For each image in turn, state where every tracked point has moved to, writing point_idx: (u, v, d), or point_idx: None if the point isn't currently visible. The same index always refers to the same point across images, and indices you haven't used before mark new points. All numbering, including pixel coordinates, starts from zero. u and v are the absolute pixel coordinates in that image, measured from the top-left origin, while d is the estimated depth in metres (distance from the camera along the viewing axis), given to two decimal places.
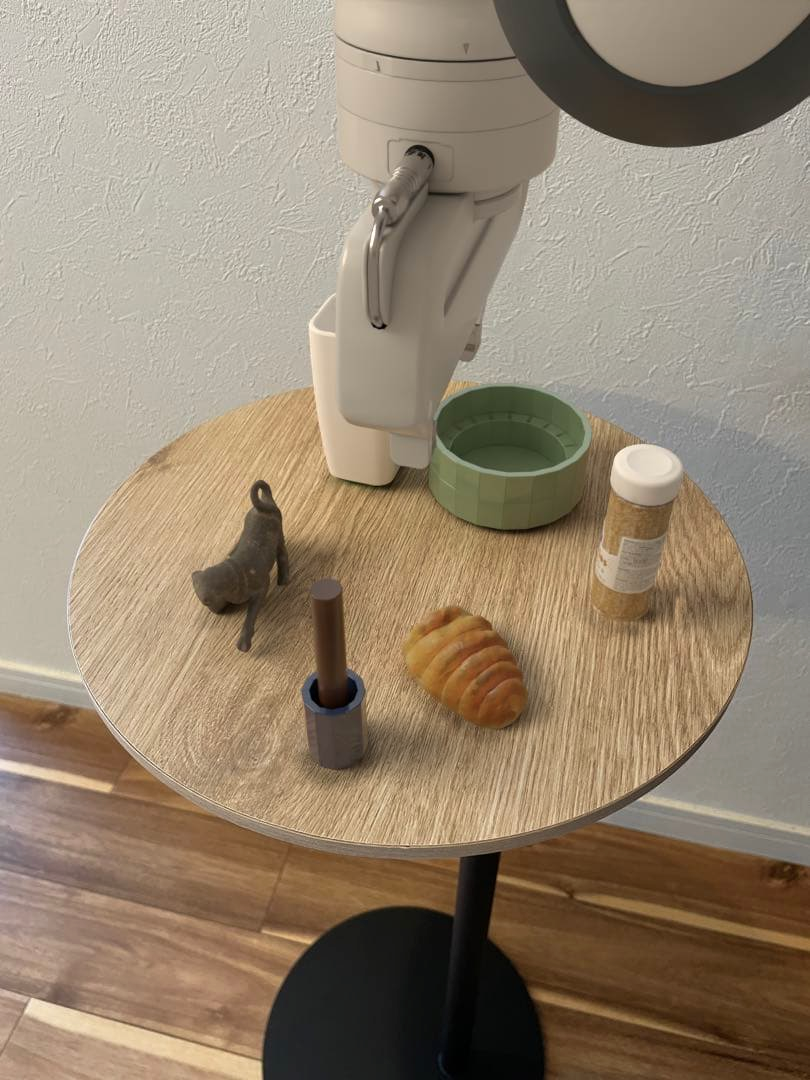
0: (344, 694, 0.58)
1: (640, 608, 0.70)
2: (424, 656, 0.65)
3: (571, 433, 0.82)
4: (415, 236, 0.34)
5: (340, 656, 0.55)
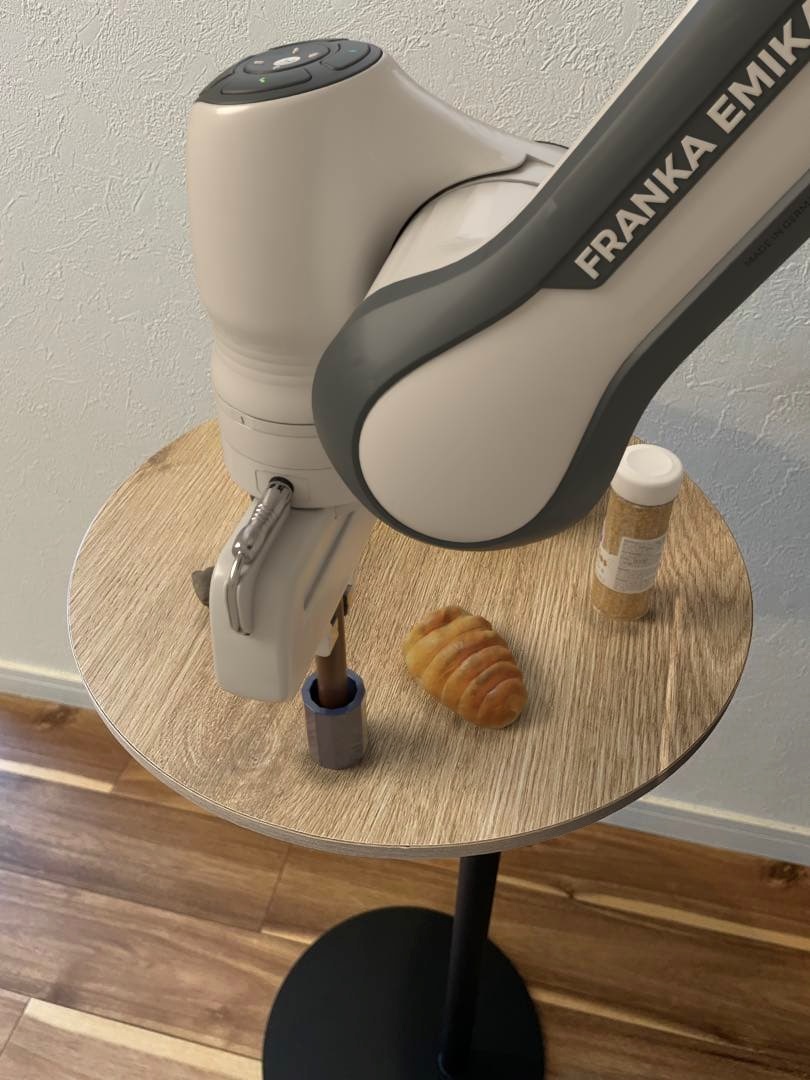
0: (344, 694, 0.58)
1: (640, 608, 0.70)
2: (424, 656, 0.65)
3: None
4: (272, 563, 0.41)
5: (339, 656, 0.55)
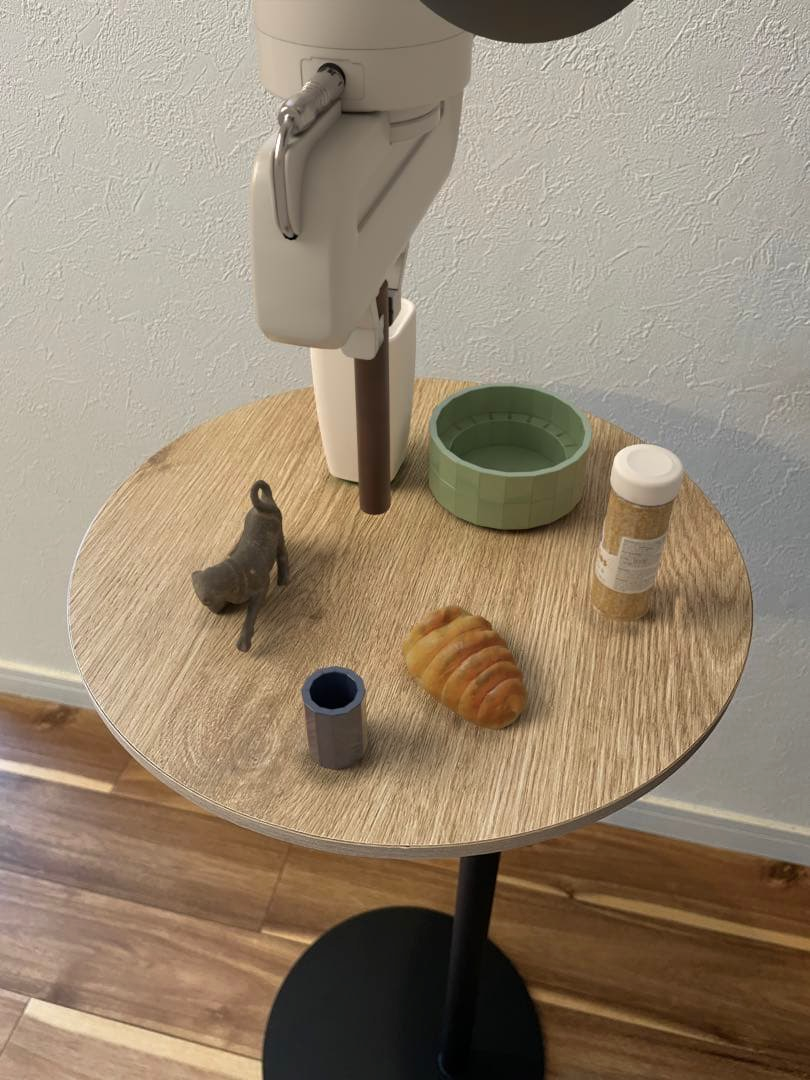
0: (385, 431, 0.52)
1: (640, 608, 0.70)
2: (424, 656, 0.65)
3: (571, 433, 0.82)
4: (324, 148, 0.35)
5: (383, 374, 0.49)
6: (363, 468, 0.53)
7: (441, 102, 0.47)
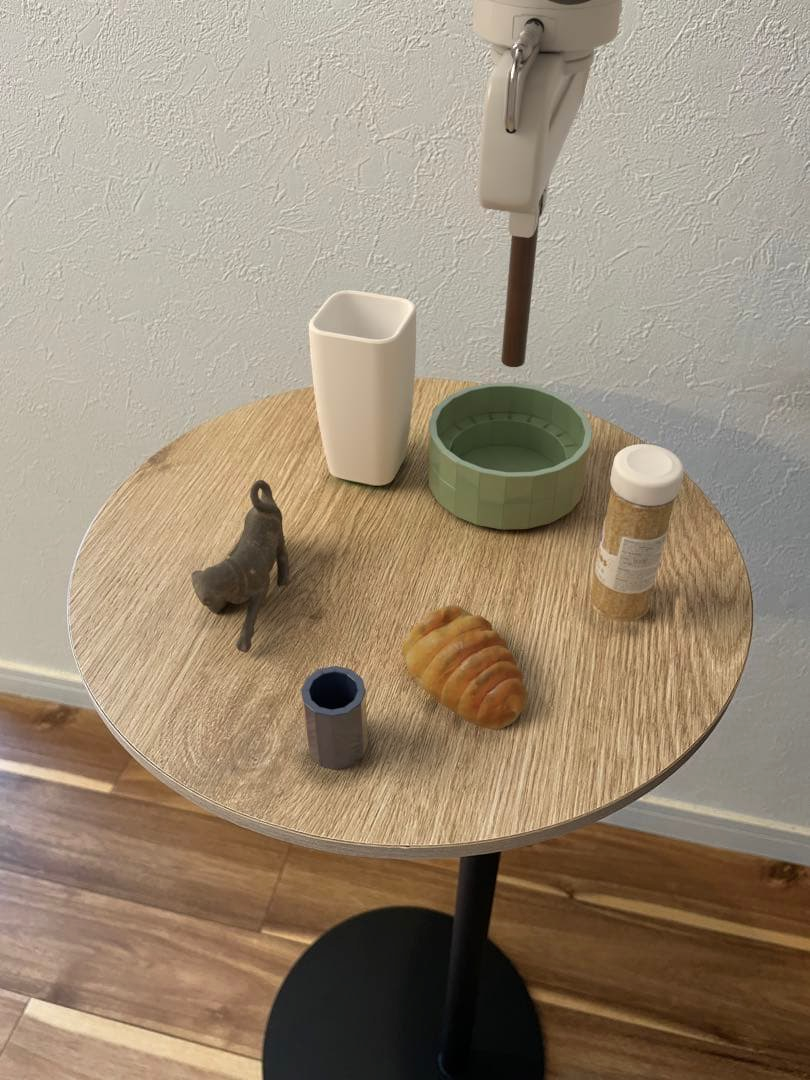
0: (529, 298, 0.70)
1: (640, 608, 0.70)
2: (424, 656, 0.65)
3: (571, 433, 0.82)
4: (535, 72, 0.54)
5: (532, 252, 0.68)
6: (509, 328, 0.72)
7: None
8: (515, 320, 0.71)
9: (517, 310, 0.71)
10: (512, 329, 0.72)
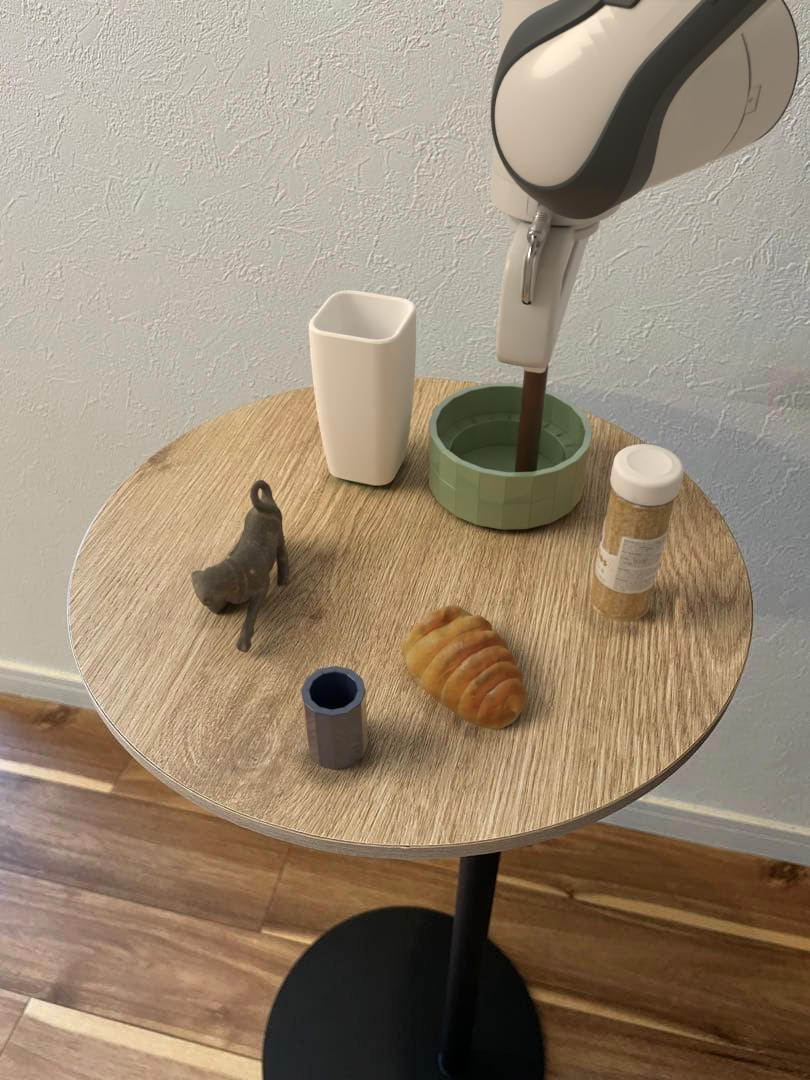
0: (540, 420, 0.77)
1: (640, 608, 0.70)
2: (423, 656, 0.65)
3: (571, 433, 0.82)
4: (548, 251, 0.60)
5: (544, 382, 0.74)
6: (522, 446, 0.78)
7: None
8: (527, 439, 0.78)
9: (529, 431, 0.77)
10: (525, 447, 0.78)
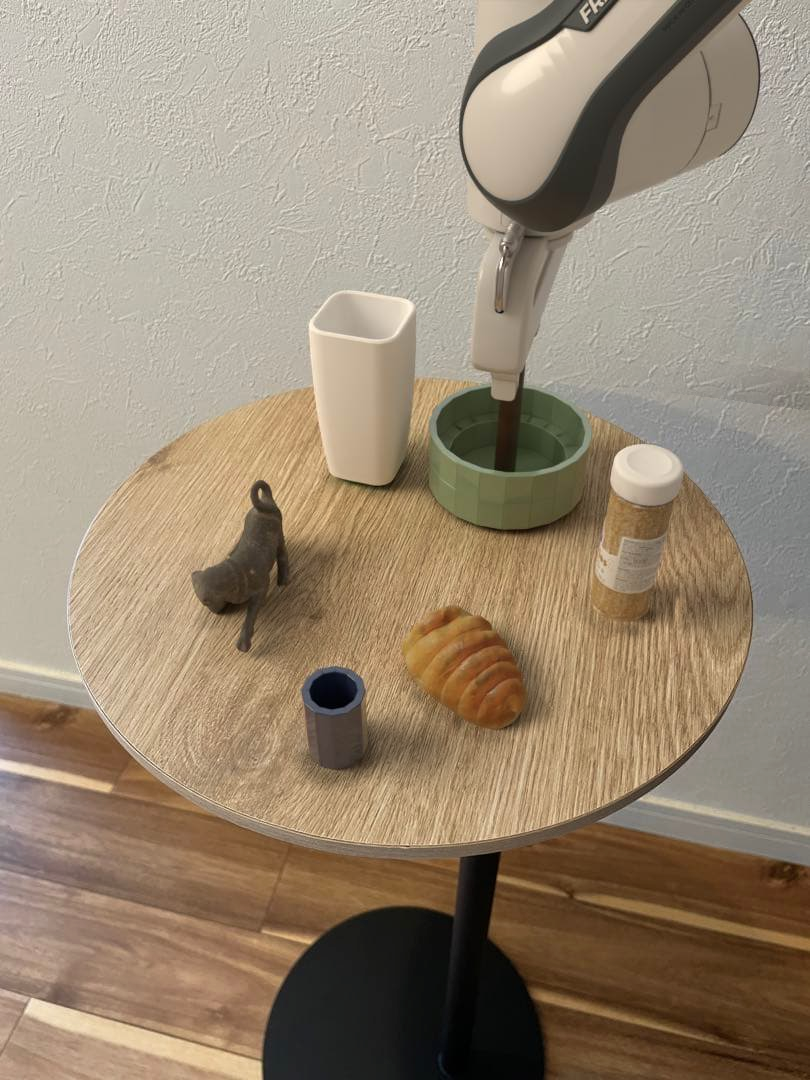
0: (517, 427, 0.78)
1: (640, 608, 0.70)
2: (423, 656, 0.65)
3: (571, 433, 0.82)
4: (520, 262, 0.61)
5: (520, 391, 0.76)
6: (500, 452, 0.80)
7: None
8: (505, 446, 0.79)
9: (507, 438, 0.79)
10: (502, 453, 0.80)
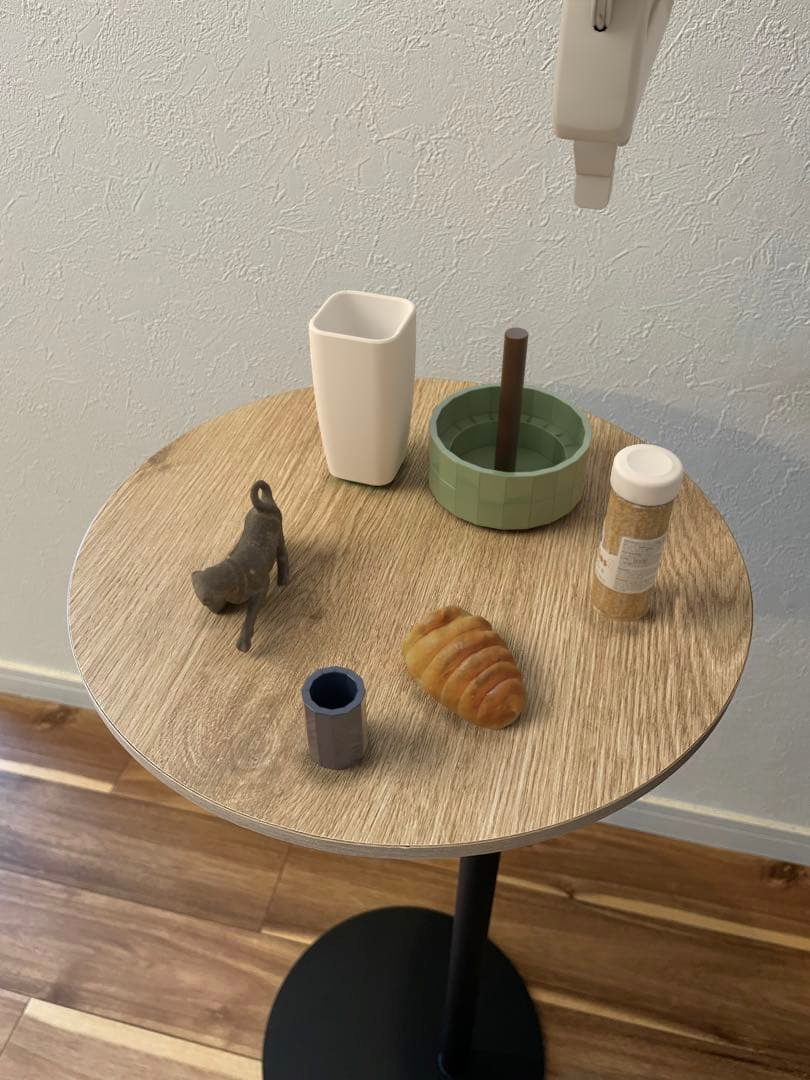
0: (517, 427, 0.78)
1: (640, 608, 0.70)
2: (423, 656, 0.65)
3: (571, 433, 0.82)
4: None
5: (520, 391, 0.76)
6: (500, 452, 0.80)
7: None
8: (505, 446, 0.79)
9: (507, 438, 0.79)
10: (502, 453, 0.80)
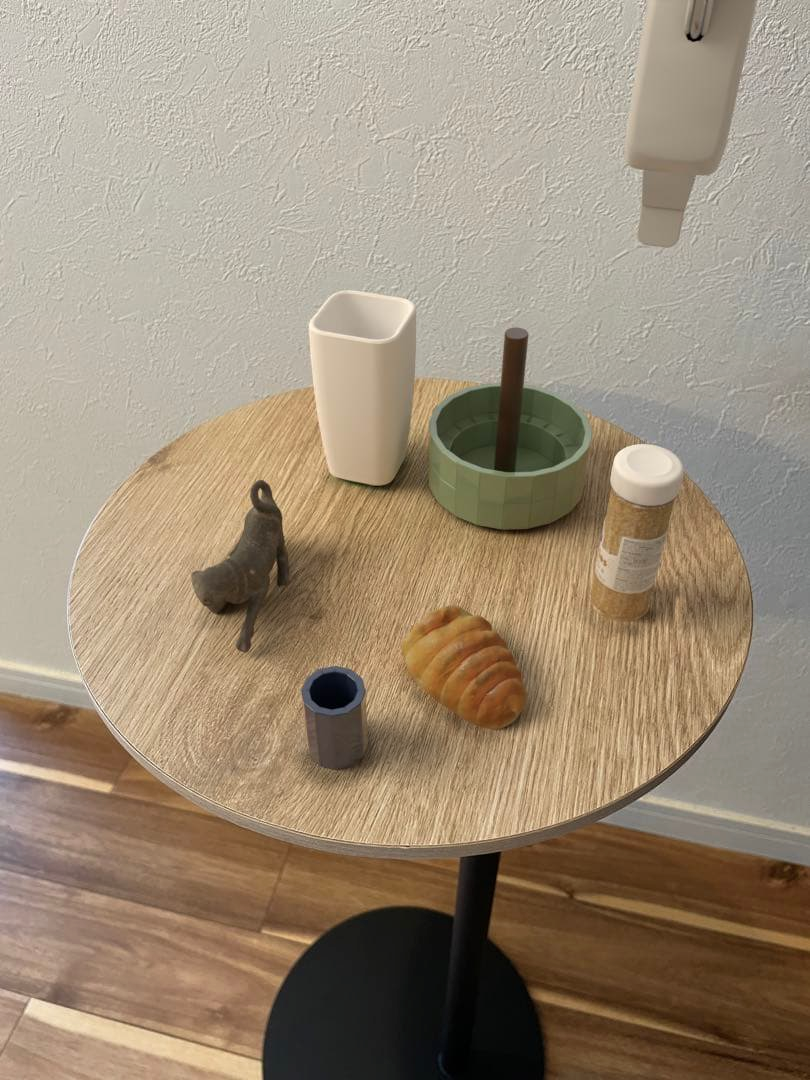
0: (517, 427, 0.78)
1: (640, 608, 0.70)
2: (423, 656, 0.65)
3: (571, 433, 0.82)
4: None
5: (520, 391, 0.76)
6: (500, 452, 0.80)
7: None
8: (505, 446, 0.79)
9: (507, 438, 0.79)
10: (502, 453, 0.80)
